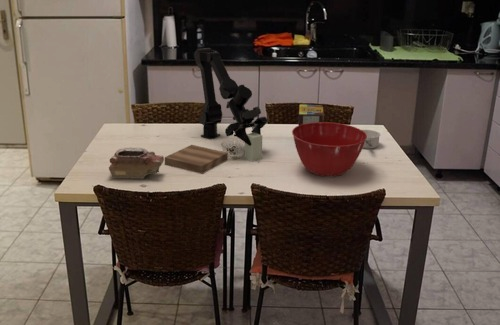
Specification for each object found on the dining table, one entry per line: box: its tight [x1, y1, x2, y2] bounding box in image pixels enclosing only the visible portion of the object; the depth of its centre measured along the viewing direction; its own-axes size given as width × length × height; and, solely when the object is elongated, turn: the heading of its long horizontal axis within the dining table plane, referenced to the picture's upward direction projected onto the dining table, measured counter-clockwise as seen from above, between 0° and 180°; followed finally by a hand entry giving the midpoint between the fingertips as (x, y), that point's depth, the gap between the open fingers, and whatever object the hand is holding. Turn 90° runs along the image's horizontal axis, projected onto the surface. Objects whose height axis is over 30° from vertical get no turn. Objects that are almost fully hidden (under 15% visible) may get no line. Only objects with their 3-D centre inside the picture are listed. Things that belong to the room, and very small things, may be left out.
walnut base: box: [164, 144, 229, 174], centre depth 234 cm, size 18×18×3 cm
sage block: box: [244, 132, 263, 162], centre depth 238 cm, size 5×5×10 cm
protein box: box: [297, 104, 324, 126], centre depth 256 cm, size 10×15×16 cm
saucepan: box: [361, 129, 381, 150], centre depth 251 cm, size 12×20×6 cm, turn 175°
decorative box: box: [108, 147, 165, 179], centre depth 220 cm, size 13×20×10 cm, turn 82°
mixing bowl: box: [291, 121, 367, 178], centre depth 225 cm, size 28×28×16 cm
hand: (255, 143), depth 236 cm, fingers closed on sage block, 5 cm apart
